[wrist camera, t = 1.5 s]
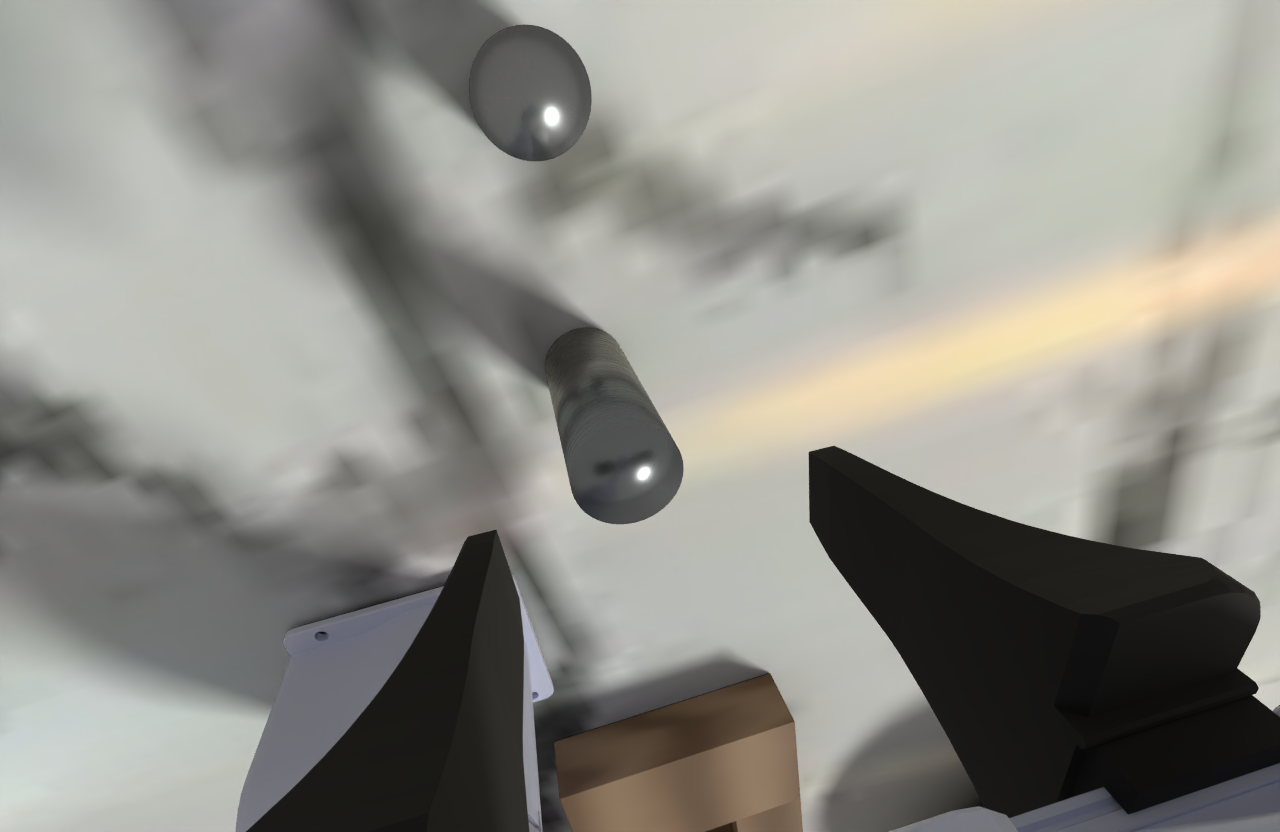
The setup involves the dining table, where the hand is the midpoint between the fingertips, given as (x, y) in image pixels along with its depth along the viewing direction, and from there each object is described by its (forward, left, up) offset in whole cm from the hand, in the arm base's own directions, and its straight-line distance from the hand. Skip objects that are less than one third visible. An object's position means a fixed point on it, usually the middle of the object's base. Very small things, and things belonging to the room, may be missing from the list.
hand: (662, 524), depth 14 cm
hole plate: (0, -29, -10) cm, 31 cm away
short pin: (0, +9, -11) cm, 14 cm away
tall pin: (0, 0, -11) cm, 10 cm away
